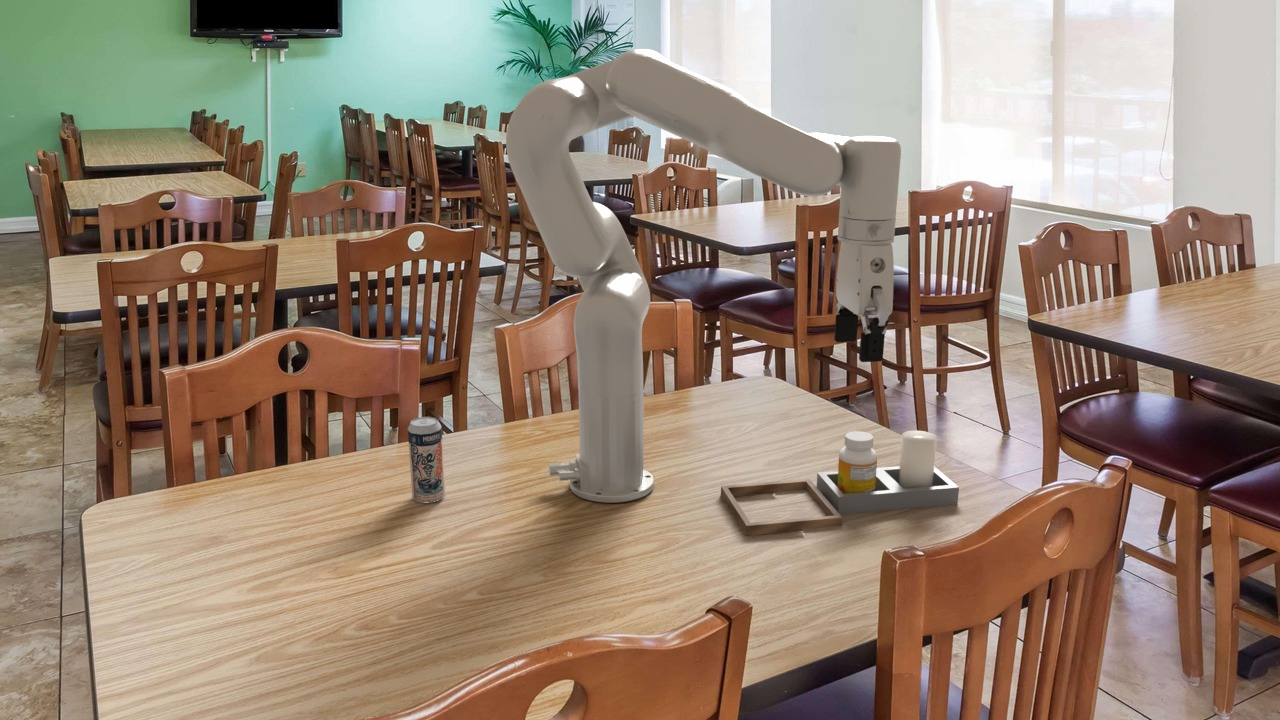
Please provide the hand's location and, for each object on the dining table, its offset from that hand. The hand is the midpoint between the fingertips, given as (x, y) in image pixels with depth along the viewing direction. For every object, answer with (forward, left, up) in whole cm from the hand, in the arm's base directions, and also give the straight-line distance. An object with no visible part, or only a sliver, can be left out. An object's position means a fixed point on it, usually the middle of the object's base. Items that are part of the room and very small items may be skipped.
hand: (857, 350), depth 152 cm
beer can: (-60, +12, -23) cm, 66 cm away
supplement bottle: (+1, -1, -22) cm, 22 cm away
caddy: (+5, -1, -23) cm, 23 cm away
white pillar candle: (+10, -1, -22) cm, 24 cm away
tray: (-11, -2, -23) cm, 25 cm away
